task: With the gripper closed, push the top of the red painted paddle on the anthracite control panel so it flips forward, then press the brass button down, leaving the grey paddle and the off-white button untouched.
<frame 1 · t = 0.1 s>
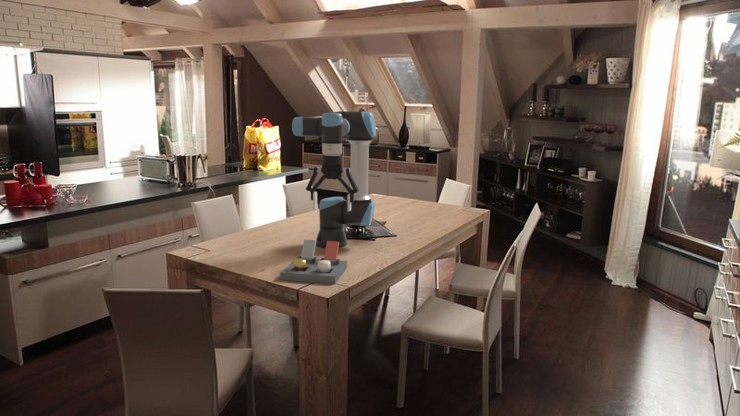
hand: (332, 209, 193), 28 cm above the table, fingers open, 13 cm apart
button white: (324, 266, 198), point 5 cm above the table, slide at 0.0 cm
paddle red: (331, 252, 209), point 7 cm above the table, hinge at -35.1°
panel: (315, 273, 204), on the table
button brass: (299, 264, 200), point 5 cm above the table, slide at 0.0 cm
paddle grey: (308, 250, 210), point 7 cm above the table, hinge at -35.1°
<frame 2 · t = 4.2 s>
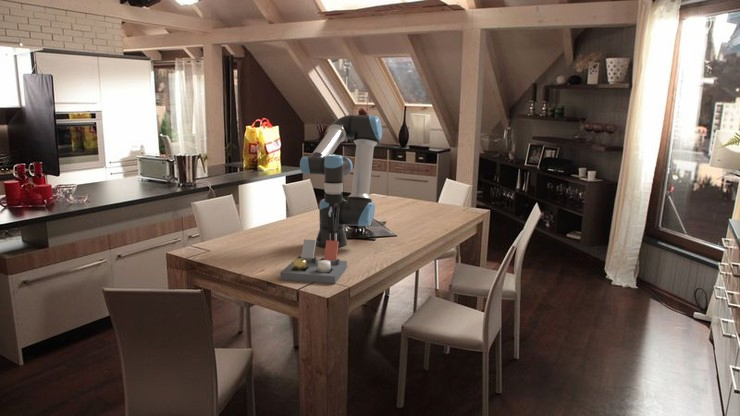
hand: (333, 247, 211), 8 cm above the table, fingers closed
paddle red: (331, 252, 208), point 7 cm above the table, hinge at -26.4°, touching gripper
everything else where it was.
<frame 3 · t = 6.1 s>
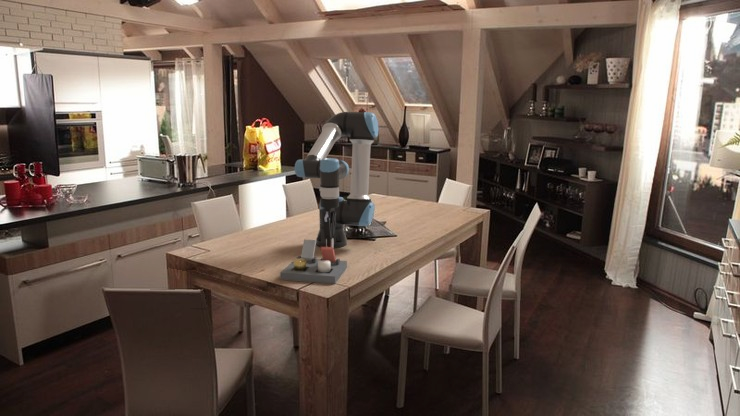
hand: (329, 253, 206), 7 cm above the table, fingers closed
paddle red: (328, 255, 204), point 7 cm above the table, hinge at 35.1°
everything else where it was.
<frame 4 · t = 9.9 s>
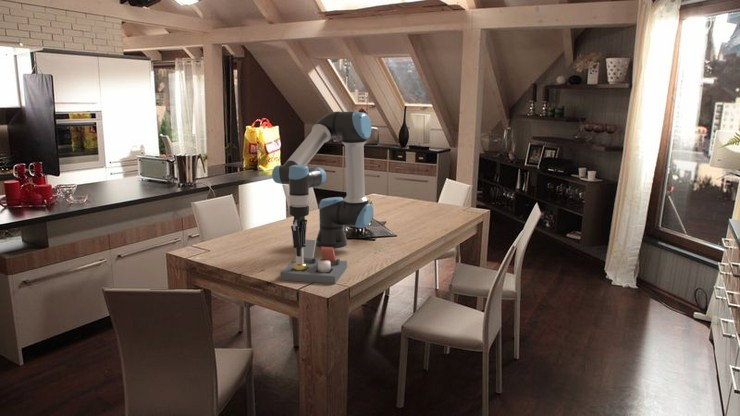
hand: (299, 263, 200), 5 cm above the table, fingers closed
button brass: (300, 267, 200), point 3 cm above the table, slide at 1.5 cm, touching gripper
everything else where it was.
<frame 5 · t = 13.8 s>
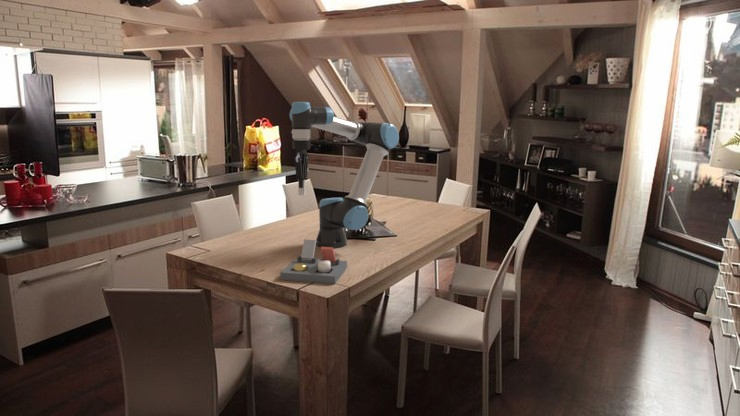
hand: (302, 195, 214), 29 cm above the table, fingers closed
button brass: (300, 269, 200), point 3 cm above the table, slide at 2.0 cm
everything else where it was.
at the end: paddle red at +35° (first picture: -35°); button brass slide at 2.0 cm; button white slide at 0.0 cm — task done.
